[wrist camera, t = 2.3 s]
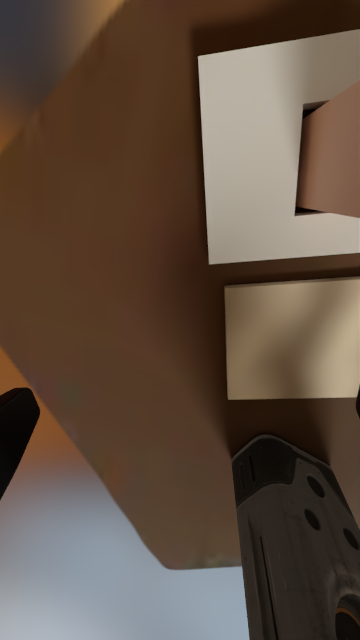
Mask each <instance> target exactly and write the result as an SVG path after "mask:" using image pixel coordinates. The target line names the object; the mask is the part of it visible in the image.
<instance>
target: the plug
mask: <svg viewBox="0 0 360 640" xmlns="http://www.w3.org/2000/svg"><path fill="white" fill-rule="evenodd" d="M296 206H297V207H302V208H308V209H313V210H318V211H324V212H329V213H334V214H340V215H345V216H350V217H356V218H360V80H358V81H357V82H355V83H354V84H352V85H351V86H350V87H348V88H347V89H345V90H344V91H342V92H341V93H340V94H338V95H337V96H335V97H334V98H333V99H331V100H330V101H328V102H327V103H325V104H324V105H323V106H321V107H320V108H318V109H317V110H315V111H314V112H313V113H311V114H310V115H308V116H307V117H306V118H304V119H303V122H302V135H301V147H300V160H299V172H298V185H297V197H296Z"/></svg>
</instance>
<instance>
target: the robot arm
mask: <svg viewBox="0 0 360 640" xmlns="http://www.w3.org/2000/svg"><path fill="white" fill-rule="evenodd" d="M356 410H357V413H358V416H359V418H360V385H359V390H358V395H357V399H356ZM39 415H40V409H39V406H38V404H37V401H36V399H35V397H34V394H33V392H32V390H31V389H29V388H14V389H12V390H10V391H8V392H6V393H4V394H2V395H0V500H1V498H2V496H3V494H4V492H5V490H6V489H7V487H8V485H9V483H10V481H11V479H12V477H13V475H14V473H15V471H16V469H17V467H18V465H19V463H20V461H21V458H22V456H23V454H24V451H25V449H26V446H27V444H28V442H29V440H30V437H31V435H32V433H33V430H34V428H35V425H36V423H37V421H38V419H39Z"/></svg>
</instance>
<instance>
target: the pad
mask: <svg viewBox="0 0 360 640" xmlns="http://www.w3.org/2000/svg"><path fill="white" fill-rule="evenodd" d="M224 291H225V325H226V359H227V392H228V400H242V399H291V398H339V397H357V395H358V390H359V385H360V276H358V277H343V278H329V279H314V280H299V281H285V282H270V283H256V284H241V285H227V286H224Z"/></svg>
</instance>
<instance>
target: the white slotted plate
mask: <svg viewBox="0 0 360 640" xmlns="http://www.w3.org/2000/svg"><path fill="white" fill-rule="evenodd" d="M198 67H199V86H200V104H201V123H202V142H203V161H204V179H205V198H206V217H207V236H208V254H209V264H220V263H233V262H245V261H258V260H271V259H284V258H297V257H309V256H322V255H335V254H348V253H360V218H356V217H350V216H345V215H340V214H334V213H329V212H324V211H314V212H304V213H295V202H296V189H297V176H298V164H299V151H300V138H301V126H302V113H303V110H309V109H316V108H320V107H321V106H323V105H324V104H325V103H327V102H328V101H330V100H331V99H333V98H334V97H335V96H337V95H338V94H340V93H341V92H342V91H344V90H345V89H347V88H348V87H350V86H351V85H352V84H354V83H355V82H357V81H358V80H360V29H358V30H352V31H346V32H340V33H334V34H328V35H322V36H316V37H310V38H304V39H298V40H292V41H286V42H280V43H274V44H268V45H262V46H256V47H250V48H244V49H238V50H233V51H227V52H221V53H215V54H209V55H203V56H198Z"/></svg>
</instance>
